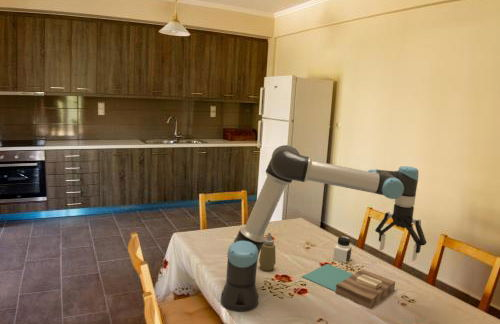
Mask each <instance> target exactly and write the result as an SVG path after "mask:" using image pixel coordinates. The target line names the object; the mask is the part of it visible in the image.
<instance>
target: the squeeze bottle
mask: <svg viewBox="0 0 500 324" xmlns="http://www.w3.org/2000/svg"><path fill="white" fill-rule="evenodd" d="M274 242H275V240H274V239H272V233H271V232H268V233H267V236H266V238H265V241H264V244H263V246H262V248H261V250H260V252H259V257H258V262H259V266H260V269H261V270H263V271H266V272H267V271H268V272H269V271H273V269H274V267H275V265H276V262H277V260H276V256H277V255H276V245H275V244H274Z"/></svg>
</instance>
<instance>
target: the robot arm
mask: <svg viewBox="0 0 500 324" xmlns="http://www.w3.org/2000/svg"><path fill="white" fill-rule="evenodd" d="M265 174H266V179H265V181H264V182H263V186H262V188H261V190H260V191H259V194H258V197H257V199H256V201H255V203H254V204H253V205H254V206H253V208H252V210H251V212H250V215H249V217H248V219H247V222H246V223H245V226H242V227H240V228H239V231H238V233H237V236H236V237H235V238H234V240H233V243H231V244H230V245H229V246H228V251H227V264H226V265H227V266H226V267H227V268H226V279H225V280H226V281H225V285H224V287H223V290H222V291H221V294H220V304H221V305H222V306H223V307H225V308H226V309H228V310H229V311H234V312H249V311H252V310H254V309H256V308H257V307H258V305H259V299H260V298H259V294H258V291H257V286H256V282H257V281H256V279H257V267H258V262H259V256H260V252H261V248H262V246H263V244H264V241H265V239H266V238H265V232H266V230H267V228H268V226H269V223H270V221H271V219H272V217H273V214H274V213H275V211H276V208H277V206H278V204H279V202H280V200H281V198H282V195H283V193H284V192H285V191H284V190H285V189H286V186H287V185H290V184H292V182H293V181H297V182H302V183H305V182H307V181H310V182H316V183H320V184H325V185H331V186H335V187H342V188H347V189H351V190H355V191H356V190H357V191H362V192H366V193H371V194H376V195H380V196H384V197H385V198H387V199H391V200H394V204H393V210H392V213H391V212H390V211H387V212H386V213H384V217H383V219H381V221H380V223H379V224H378V225H377V227H376V229H375V230H374V231H375V233H378V234H379V235H378V242H380V244H379V251H383V250H384V249H385V245H386V244H385V243H386V237H387V236H386V235H387V234H386V232H388V231H389V230H390V229H391V228H393V227H394V226H396V227H398V228H403V229H406V230H407V231H408V233H409V235H410V236H411V238H412V240H413V242H414V243H415V244H413V252H412V259H411V260H412V261H413V262H414V261H416V260H417V257H418V254H419V253H420V252H421V248H422V246H425V245H427V239H426V237H425V234H424V231H423V228H422V226H421V225H422V224H421V222H422V221H421V219H414V210H415V207H414V206H415V201H416V196H417V195H416V194H417V189H418V182H419V169H418V168H416V167H413V166H408V165H407V166H406V165H405V166H404V165H402V166H399V167H398V170H386V169H385V170H384V169H377V168H376V169H369V170H362V169H357V168H352V167H347V166H341V165H336V164H331V163H328V162H327V163H326V162H321V161H316V160H312V159H311V157H310V156H305V155H302V154H300V153H299V151H298V150H297V149H296V147H293V146H291V145H288V144H286V145H285V144H283V145H279V146H278V147H276V148H275V149H274V150H273V152H272V155H271V158H270V160H269V162H268V164H267V167H266V169H265ZM389 219H392V221H391V222H390V223H389V224H388V225H386V227H384V226H385V224H386V223H387V222H388V221H389ZM412 224H413V225H414V226H415V229H416V231H415V230H414V226H413V225H412Z"/></svg>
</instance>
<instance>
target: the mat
mask: <svg viewBox="0 0 500 324" xmlns="http://www.w3.org/2000/svg"><path fill="white" fill-rule="evenodd" d="M354 274H355V273H352V272H349V271H346V270H345V269H341V268H339V267H336V266H334V265H331V264H328V263H326V264H324V265H322V266H320V267H318V268H316V269H314V270H312V271H310V272H308V273H305V274H304V275H302V276H301V278H303V279H306V280H307V281H310V282H312V283H314V284H317V285H319V286H321V287H323V288H326V289H328V290H330V291H333V292H334V293H336V285H337V284H338V283H340V282H342V281H343V280H345V279H347V278H349V277H350V276H352V275H354Z"/></svg>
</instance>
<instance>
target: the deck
mask: <svg viewBox="0 0 500 324" xmlns="http://www.w3.org/2000/svg"><path fill="white" fill-rule="evenodd" d="M353 274H354V275H352V276H350V277H349V278H347V279H345V280H343V281H342V282H340V283H338V284H337V285H336V292H335V294H336V295H339V296H341V297H343V298H345V299H348V300H349V301H352V302H354V303H357V304H359V305H361V306H363V307H365V308H368V309H372V308H373V307H374V306H376V305H377V304H378V303H379V302H380V301H382V300H383V299H384V298H386V297H387V296H388V295H390V294H391V293H392V292H394V291H395V288H396V281H395V280H392V279H389V278H387V277H384V276H382V275H378V274H376V273H373V272H370V271H368V270H366V269H363V268H362V269H361V270H359V271H357V272H355V273H353ZM362 274H364V275H367V276H369V277H372V278H374V279H377V280H380V281H382V285H381V286H380V287H379V288H377V289H376V290H374V289H372V288H369V287H367V286H364V285H362V284H359V283H357V282H356V278H357V277H359V276H361V275H362Z"/></svg>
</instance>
